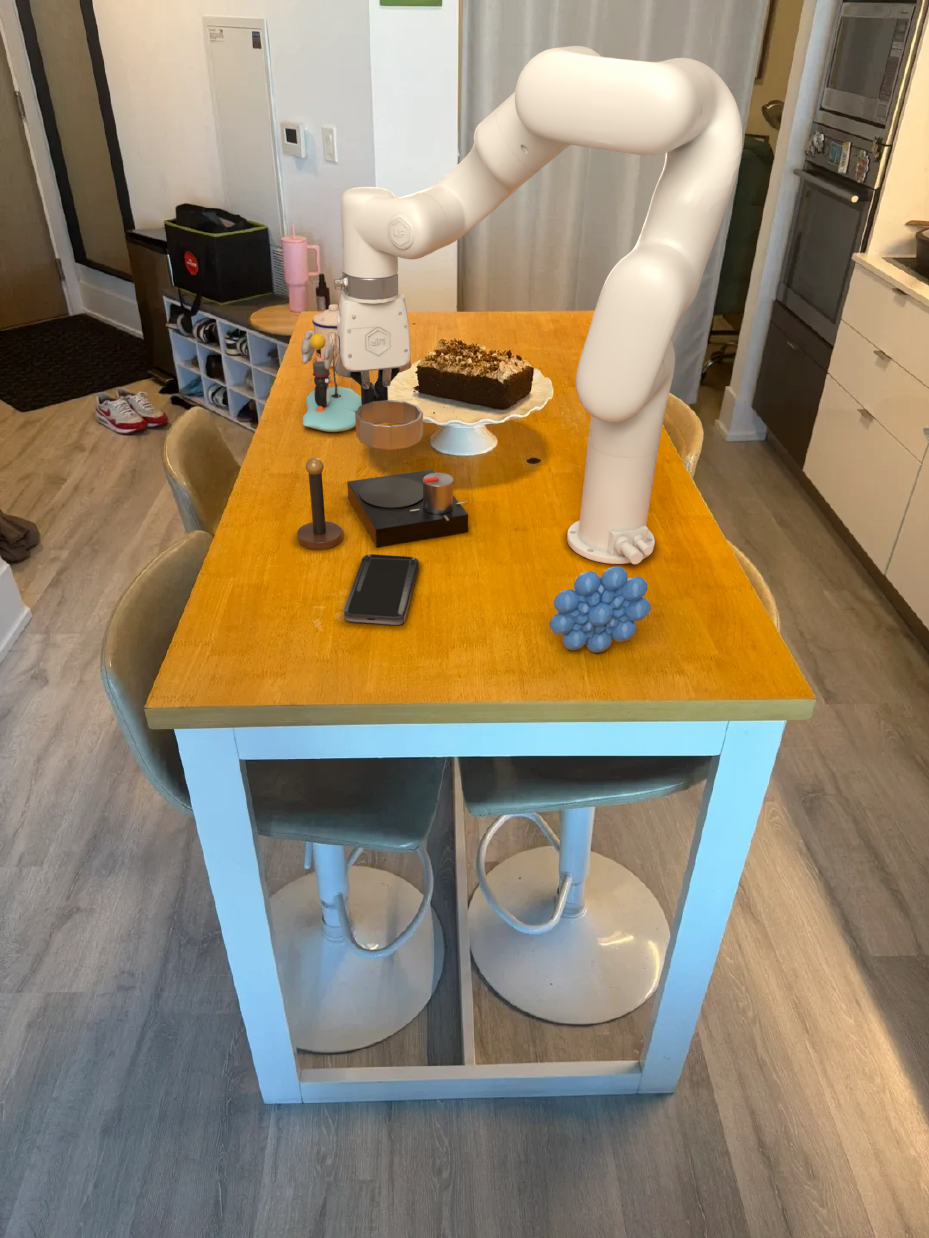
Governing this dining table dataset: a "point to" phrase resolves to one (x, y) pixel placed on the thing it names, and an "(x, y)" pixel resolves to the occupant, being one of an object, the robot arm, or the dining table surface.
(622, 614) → the blue knobbed flower shape
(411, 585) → the phone
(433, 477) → the hotplate knob
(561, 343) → the dining table surface
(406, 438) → the egg ring
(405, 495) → the burner
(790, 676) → the dining table surface
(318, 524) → the peg stand
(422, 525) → the hotplate
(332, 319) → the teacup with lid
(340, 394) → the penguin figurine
